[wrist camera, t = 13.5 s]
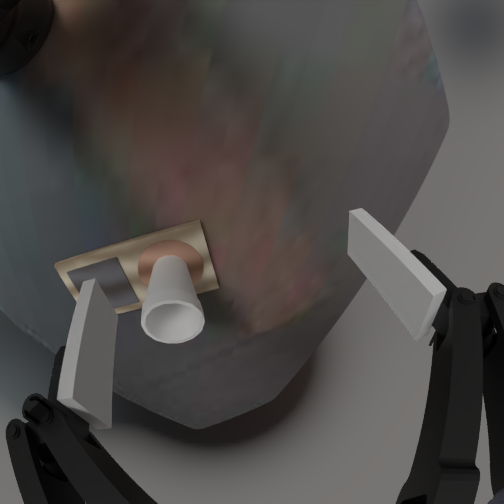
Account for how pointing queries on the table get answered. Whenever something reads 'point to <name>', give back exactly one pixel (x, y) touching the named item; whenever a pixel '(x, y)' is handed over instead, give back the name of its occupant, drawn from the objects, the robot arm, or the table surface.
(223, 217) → the table surface
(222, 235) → the table surface
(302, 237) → the table surface
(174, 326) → the foam cup
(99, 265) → the sorting board
